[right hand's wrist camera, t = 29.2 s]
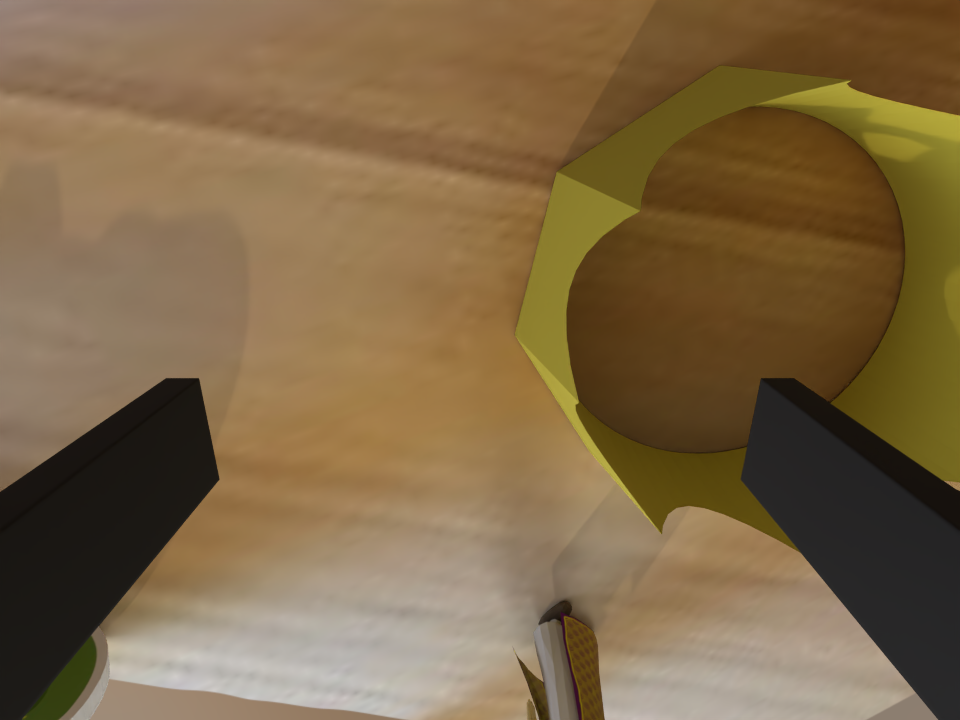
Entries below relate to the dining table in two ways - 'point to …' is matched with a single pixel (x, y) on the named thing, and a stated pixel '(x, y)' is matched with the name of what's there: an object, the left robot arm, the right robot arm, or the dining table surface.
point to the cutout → (76, 684)
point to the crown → (899, 357)
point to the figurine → (565, 669)
